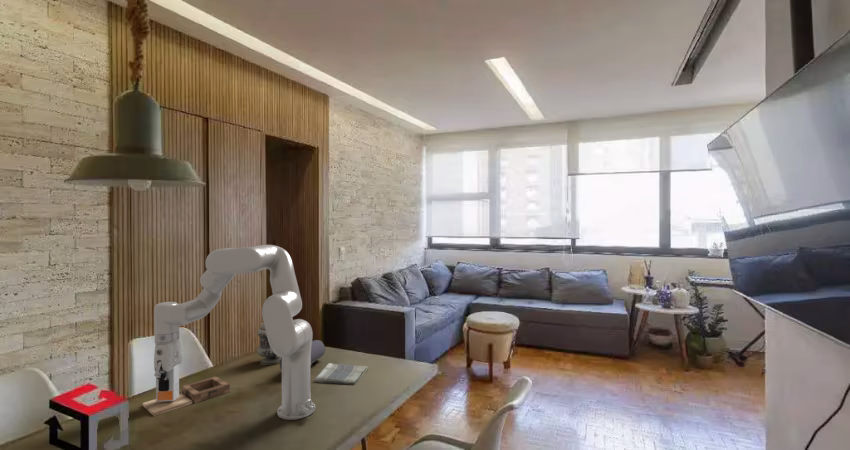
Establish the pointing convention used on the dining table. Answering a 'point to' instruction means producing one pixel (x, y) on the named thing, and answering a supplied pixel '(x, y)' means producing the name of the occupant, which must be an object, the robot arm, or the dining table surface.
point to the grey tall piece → (266, 349)
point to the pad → (166, 405)
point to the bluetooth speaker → (314, 351)
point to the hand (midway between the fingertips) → (167, 387)
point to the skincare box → (173, 386)
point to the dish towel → (341, 374)
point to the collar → (216, 390)
